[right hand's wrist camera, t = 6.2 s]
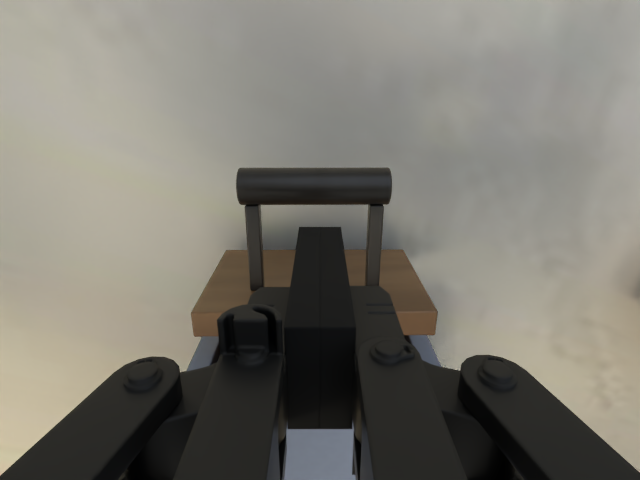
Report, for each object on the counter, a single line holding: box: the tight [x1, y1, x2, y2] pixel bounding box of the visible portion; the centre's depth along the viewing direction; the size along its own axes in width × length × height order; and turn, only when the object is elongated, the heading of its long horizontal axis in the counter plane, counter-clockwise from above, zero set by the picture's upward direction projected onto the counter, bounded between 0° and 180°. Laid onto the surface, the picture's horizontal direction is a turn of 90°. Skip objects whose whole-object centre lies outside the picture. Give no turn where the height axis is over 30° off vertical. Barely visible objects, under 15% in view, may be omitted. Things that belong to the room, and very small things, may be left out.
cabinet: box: [187, 335, 441, 480], centre depth 24 cm, size 20×12×9 cm, turn 0°
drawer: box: [191, 168, 438, 337], centre depth 22 cm, size 24×10×7 cm, turn 0°
